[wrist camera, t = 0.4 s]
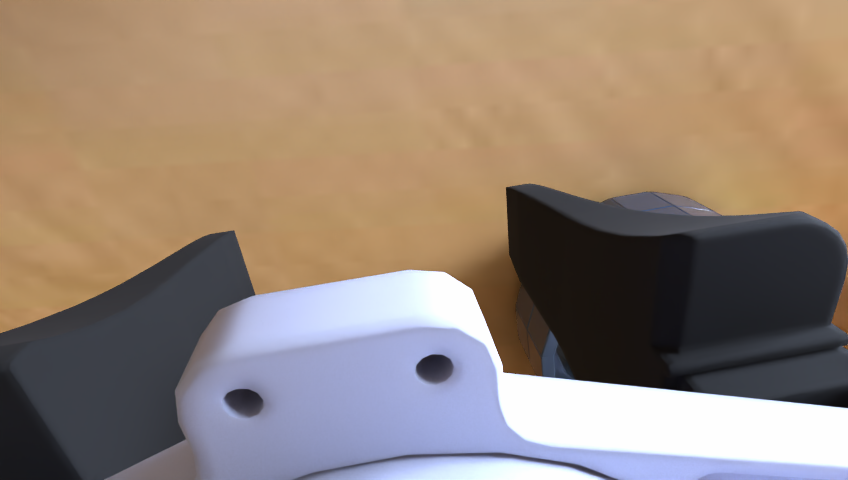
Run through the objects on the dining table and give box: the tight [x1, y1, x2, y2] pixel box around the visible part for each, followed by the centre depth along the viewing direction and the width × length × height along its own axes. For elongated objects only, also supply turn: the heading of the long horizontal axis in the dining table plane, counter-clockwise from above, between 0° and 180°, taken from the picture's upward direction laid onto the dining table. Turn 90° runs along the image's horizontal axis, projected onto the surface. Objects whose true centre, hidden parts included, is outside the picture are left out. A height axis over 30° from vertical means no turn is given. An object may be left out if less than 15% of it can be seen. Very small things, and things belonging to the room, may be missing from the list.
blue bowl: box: [516, 192, 722, 380], centre depth 24 cm, size 12×12×5 cm
